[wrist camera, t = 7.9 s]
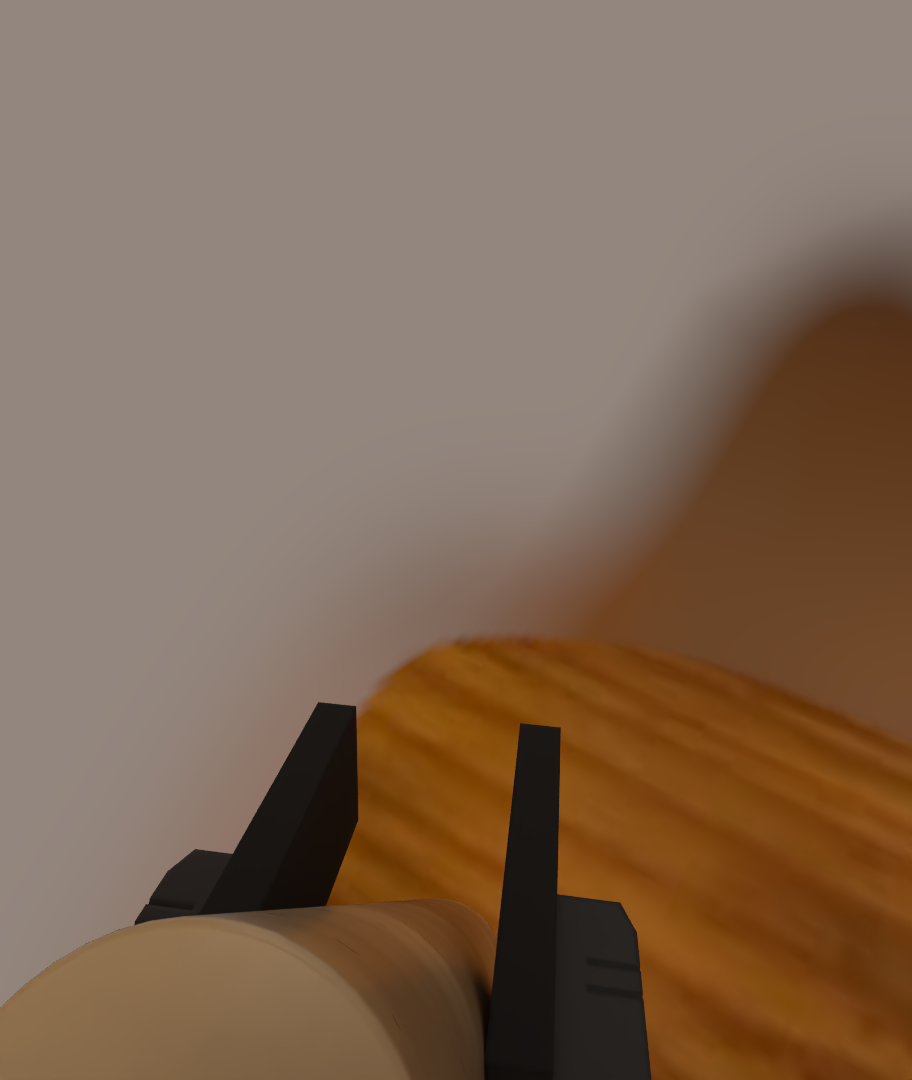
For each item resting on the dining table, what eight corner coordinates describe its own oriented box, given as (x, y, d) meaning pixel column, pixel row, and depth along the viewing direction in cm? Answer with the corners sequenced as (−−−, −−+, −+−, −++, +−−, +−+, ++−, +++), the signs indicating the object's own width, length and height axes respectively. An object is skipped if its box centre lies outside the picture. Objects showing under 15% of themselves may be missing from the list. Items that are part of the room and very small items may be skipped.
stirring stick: (350, 949, 19) (-207, 1133, 4) (457, 872, 19) (274, 813, 5) (418, 1080, 18) (-47, 1922, 3) (530, 993, 18) (569, 1384, 4)
